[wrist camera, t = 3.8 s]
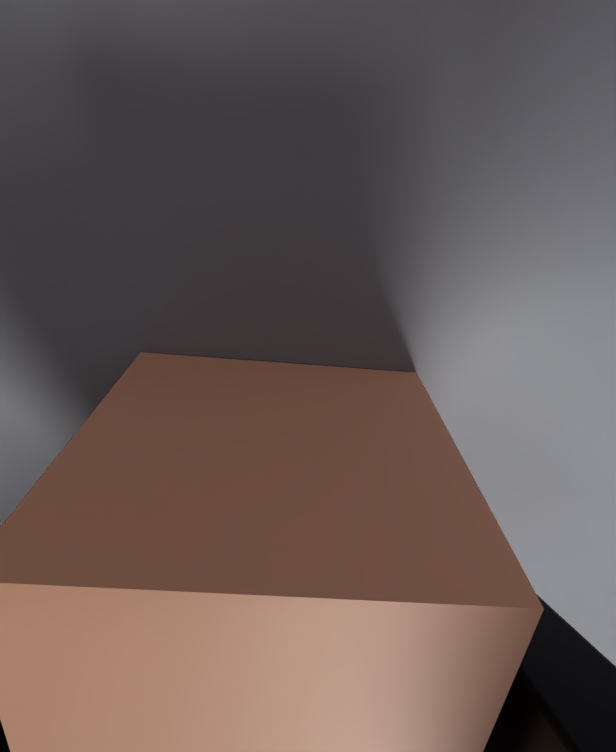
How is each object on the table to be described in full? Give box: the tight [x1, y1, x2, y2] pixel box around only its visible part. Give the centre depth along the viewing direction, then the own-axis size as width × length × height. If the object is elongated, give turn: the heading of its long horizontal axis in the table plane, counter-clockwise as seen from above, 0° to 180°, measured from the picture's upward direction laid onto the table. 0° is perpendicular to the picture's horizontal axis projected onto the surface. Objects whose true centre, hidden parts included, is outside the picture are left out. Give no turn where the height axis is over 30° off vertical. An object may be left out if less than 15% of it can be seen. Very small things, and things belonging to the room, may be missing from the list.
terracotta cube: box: [0, 352, 544, 752], centre depth 7 cm, size 4×4×4 cm
